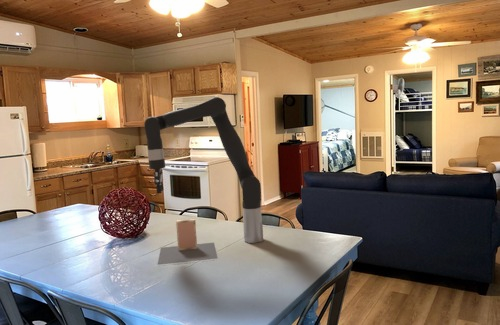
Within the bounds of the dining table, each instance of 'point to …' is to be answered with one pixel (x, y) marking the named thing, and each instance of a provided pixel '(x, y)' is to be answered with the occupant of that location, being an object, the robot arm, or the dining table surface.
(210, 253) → the rubber mat
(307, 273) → the dining table surface
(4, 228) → the dining table surface
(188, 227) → the birch tile
